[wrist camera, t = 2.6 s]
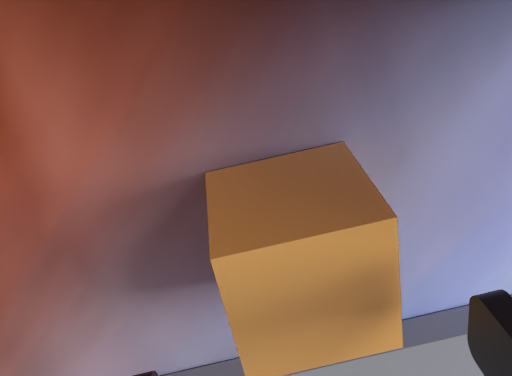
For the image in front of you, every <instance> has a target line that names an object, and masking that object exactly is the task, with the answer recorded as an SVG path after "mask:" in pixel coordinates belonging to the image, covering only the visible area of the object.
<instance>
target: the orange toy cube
mask: <svg viewBox="0 0 512 376" xmlns="http://www.w3.org/2000/svg"><path fill="white" fill-rule="evenodd" d="M205 179H206V196H207V214H208V232H209V249H210V261H211V264H212V268H213V271H214V274H215V278H216V281H217V284H218V288H219V291H220V294H221V298H222V301H223V304H224V307H225V311H226V314H227V317H228V321H229V324H230V327H231V331H232V334H233V337H234V340H235V344H236V347H237V350H238V354H239V357H240V360H241V364H242V367H243V370H244V374H245V376H282V375H287V374H291V373H295V372H300V371H304V370H308V369H313V368H317V367H321V366H326V365H330V364H334V363H339V362H343V361H347V360H352V359H356V358H360V357H365V356H369V355H373V354H377V353H382V352H386V351H390V350H395V349H399V348H403V334H402V312H401V289H400V266H399V243H398V220H397V216H396V215H395V213H394V212H393V210H392V209H391V208H390V206H389V205H388V203H387V202H386V201H385V199H384V198H383V196H382V195H381V194H380V192H379V191H378V189H377V188H376V187H375V185H374V184H373V182H372V181H371V180H370V178H369V177H368V175H367V174H366V173H365V171H364V170H363V168H362V167H361V166H360V164H359V163H358V161H357V160H356V159H355V157H354V156H353V154H352V153H351V152H350V150H349V149H348V147H347V146H346V145H345V143H344V142H339V143H335V144H330V145H326V146H321V147H317V148H312V149H308V150H303V151H299V152H295V153H290V154H286V155H281V156H277V157H272V158H268V159H264V160H259V161H255V162H250V163H246V164H241V165H237V166H232V167H228V168H224V169H219V170H215V171H210V172H206V173H205Z"/></svg>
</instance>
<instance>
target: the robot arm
mask: <svg viewBox="0 0 512 376" xmlns="http://www.w3.org/2000/svg"><path fill="white" fill-rule="evenodd" d="M467 340H468V346H469V349H470V352H471V355H472V357H473V359H474V361H475V362H476V364H477V366H478V367H479V369H480V370H481V371H482V373H483V374H484V376H512V297H511V296H510V295H509V294H508V293H507V292H506V291H504V290H496V291H492V292H488V293H484V294H479V295H475V296H472V297H471V298H470V302H469V318H468V334H467ZM133 376H158V374H157V372H156V371H150V372H146V373H142V374H138V375H133Z"/></svg>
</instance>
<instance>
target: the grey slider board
mask: <svg viewBox="0 0 512 376" xmlns="http://www.w3.org/2000/svg"><path fill="white" fill-rule="evenodd" d="M510 296H511V297H512V295H510ZM468 318H469V305H467V306H463V307H458V308H454V309H450V310H445V311H441V312H437V313H432V314H428V315H424V316H419V317H415V318H411V319H406V320H402V334H403V348H399V349H395V350H390V351H386V352H382V353H377V354H373V355H369V356H365V357H360V358H356V359H352V360H347V361H343V362H339V363H334V364H330V365H326V366H321V367H317V368H313V369H308V370H304V371H300V372H295V373H291V374H287V375H282V376H484V374H483V373H482V371H481V370H480V369H479V367H478V366H477V364H476V362H475V361H474V359H473V357H472V355H471V352H470V349H469V346H468V340H467V334H468ZM163 376H245V374H244V370H243V367H242V364H241V360H240V358H237V359H233V360H228V361H224V362H220V363H215V364H211V365H207V366H202V367H198V368H194V369H189V370H185V371H181V372H176V373H172V374H168V375H163Z"/></svg>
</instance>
